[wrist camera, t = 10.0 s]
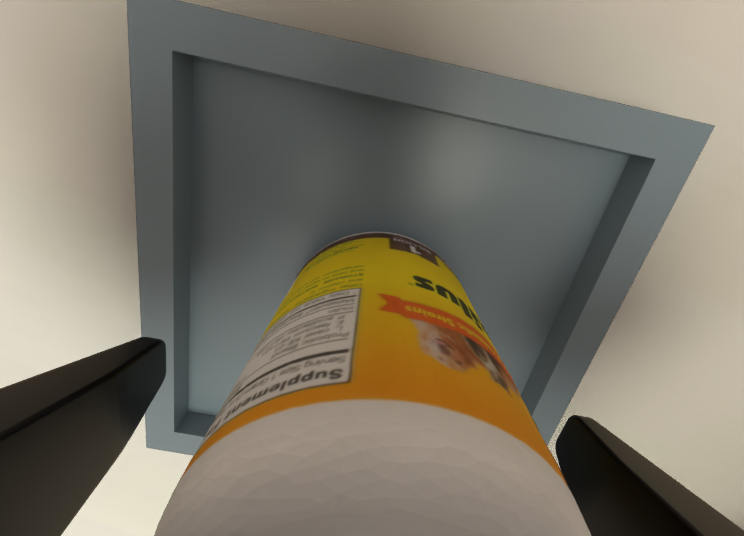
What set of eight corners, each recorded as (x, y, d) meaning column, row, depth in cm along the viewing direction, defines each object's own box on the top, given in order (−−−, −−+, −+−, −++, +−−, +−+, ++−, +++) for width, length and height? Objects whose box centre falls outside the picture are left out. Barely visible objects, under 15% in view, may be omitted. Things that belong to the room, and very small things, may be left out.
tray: (660, 125, 10) (714, 125, 9) (499, 466, 15) (513, 508, 14) (170, 12, 10) (126, -12, 8) (173, 410, 15) (146, 447, 13)
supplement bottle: (486, 338, 12) (881, 1113, 3) (344, 396, 13) (251, 1104, 4) (418, 191, 10) (872, 944, 1) (259, 271, 11) (-357, 1013, 2)
